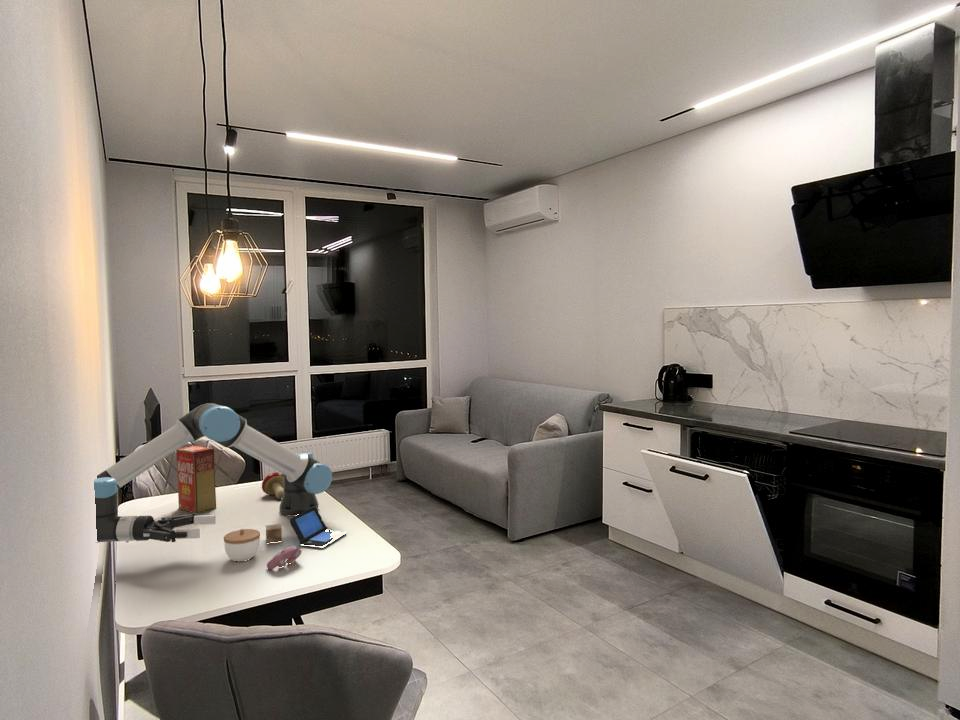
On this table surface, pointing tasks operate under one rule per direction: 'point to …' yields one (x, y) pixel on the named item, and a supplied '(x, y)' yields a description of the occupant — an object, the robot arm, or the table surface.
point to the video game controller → (284, 557)
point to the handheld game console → (310, 528)
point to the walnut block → (273, 533)
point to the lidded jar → (242, 544)
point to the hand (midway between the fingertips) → (207, 526)
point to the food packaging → (196, 479)
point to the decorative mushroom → (273, 484)
